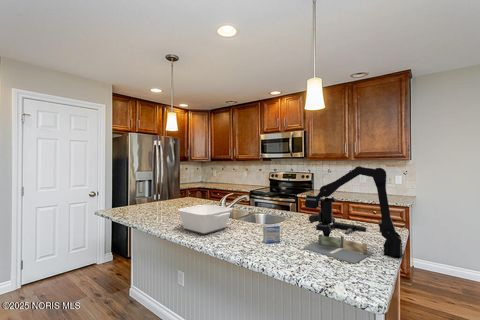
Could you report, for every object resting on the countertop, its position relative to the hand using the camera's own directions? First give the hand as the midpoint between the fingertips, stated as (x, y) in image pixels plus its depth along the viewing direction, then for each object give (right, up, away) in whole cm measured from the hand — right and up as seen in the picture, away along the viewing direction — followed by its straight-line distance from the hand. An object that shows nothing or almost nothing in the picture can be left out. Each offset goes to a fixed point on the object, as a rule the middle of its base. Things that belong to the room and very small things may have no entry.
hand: (325, 240), depth 130 cm
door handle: (+21, -3, +27) cm, 35 cm away
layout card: (+2, -2, -9) cm, 10 cm away
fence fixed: (+9, -2, -10) cm, 14 cm away
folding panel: (+1, -1, -3) cm, 3 cm away
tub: (-65, -2, +28) cm, 71 cm away
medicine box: (-27, -2, +4) cm, 28 cm away
